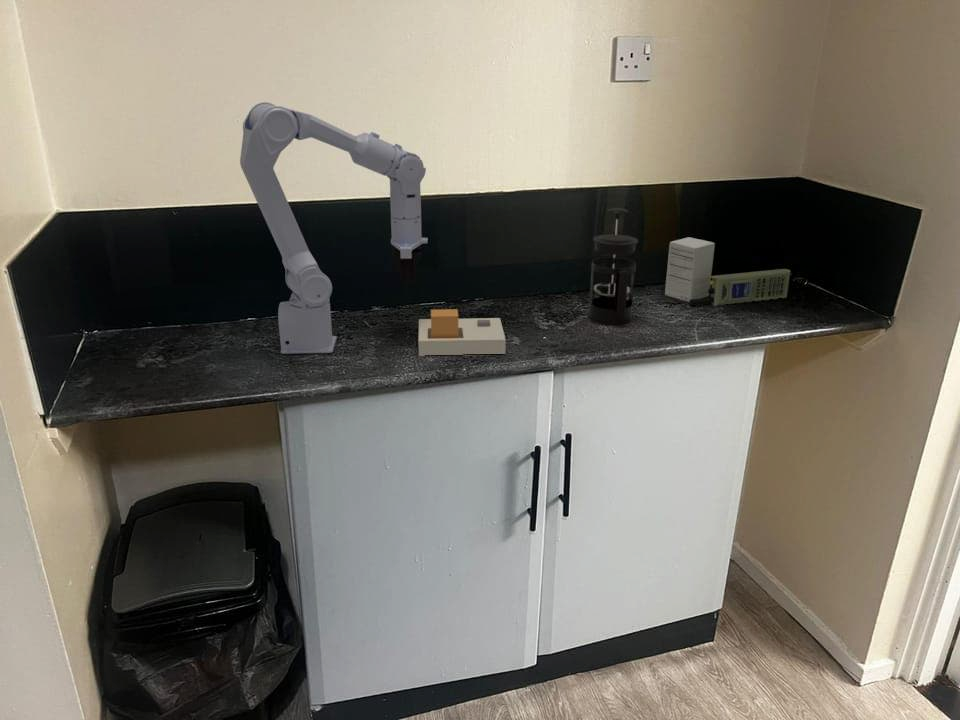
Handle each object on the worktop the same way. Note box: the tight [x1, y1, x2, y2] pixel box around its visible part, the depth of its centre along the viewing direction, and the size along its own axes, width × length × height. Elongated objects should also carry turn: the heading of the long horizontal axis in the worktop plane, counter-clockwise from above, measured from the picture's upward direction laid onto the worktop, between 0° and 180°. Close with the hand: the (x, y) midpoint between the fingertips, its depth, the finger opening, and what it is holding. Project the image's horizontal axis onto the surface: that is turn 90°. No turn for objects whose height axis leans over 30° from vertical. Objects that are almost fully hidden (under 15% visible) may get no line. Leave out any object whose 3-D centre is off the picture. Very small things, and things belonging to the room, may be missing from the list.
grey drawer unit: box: [664, 236, 716, 303], centre depth 175 cm, size 7×7×13 cm
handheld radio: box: [688, 268, 791, 307], centre depth 173 cm, size 7×3×25 cm
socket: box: [418, 317, 507, 357], centre depth 148 cm, size 16×12×4 cm
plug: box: [430, 308, 459, 339], centre depth 145 cm, size 5×4×7 cm
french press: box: [587, 207, 639, 326], centre depth 158 cm, size 12×9×23 cm
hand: (408, 285), depth 152 cm, fingers closed
